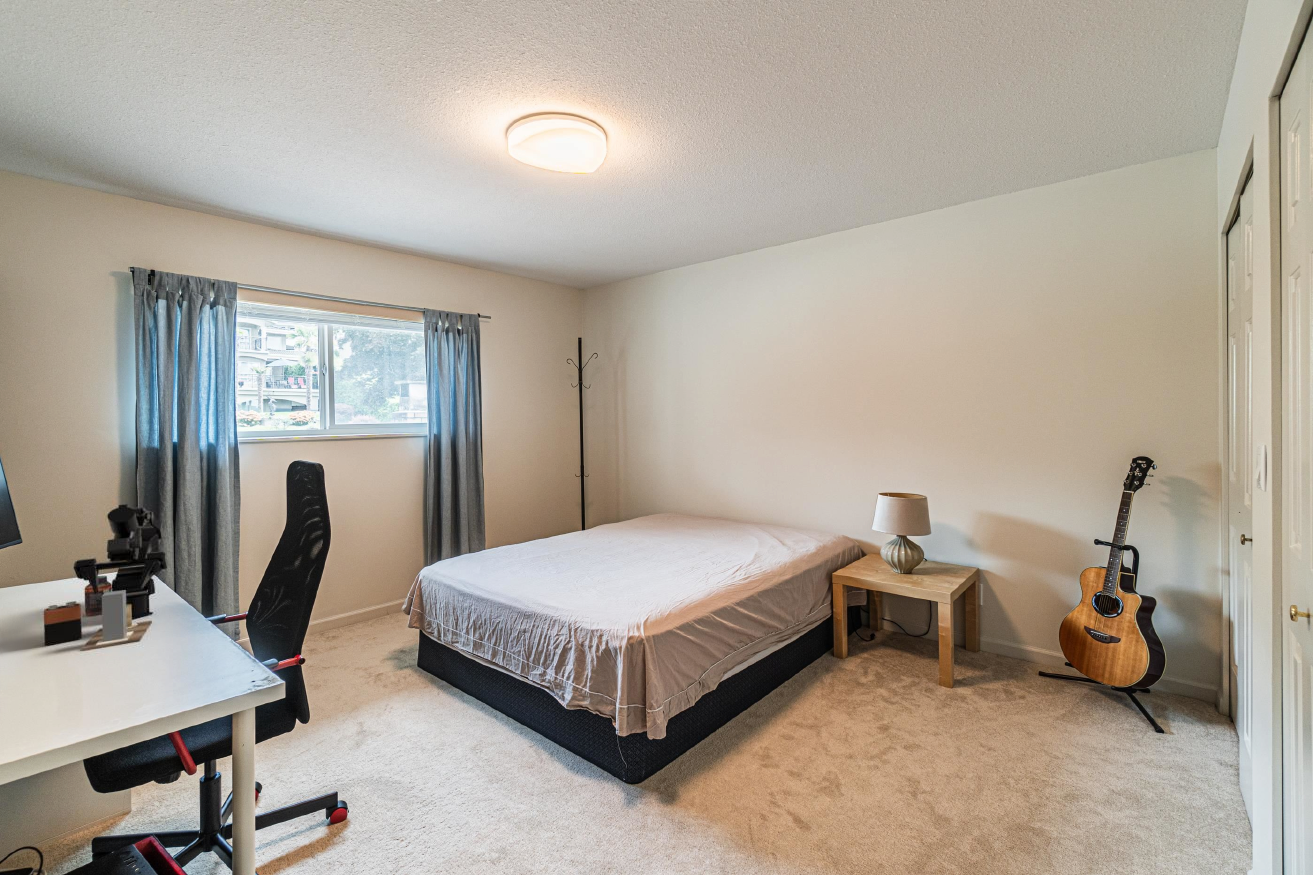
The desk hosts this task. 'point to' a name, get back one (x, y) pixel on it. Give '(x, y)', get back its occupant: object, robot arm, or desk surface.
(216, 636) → the desk surface
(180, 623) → the desk surface
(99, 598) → the supplement bottle
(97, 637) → the board
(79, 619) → the battery
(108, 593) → the leg
